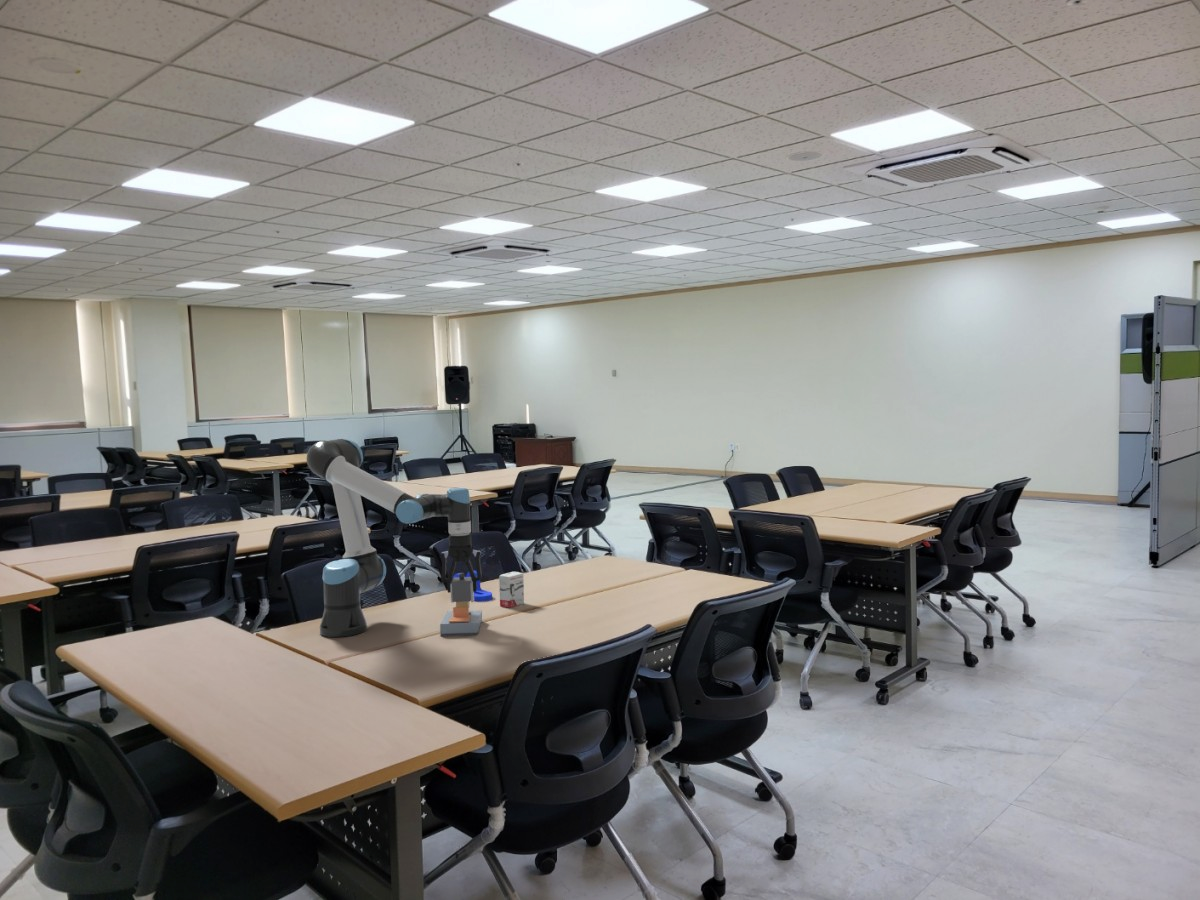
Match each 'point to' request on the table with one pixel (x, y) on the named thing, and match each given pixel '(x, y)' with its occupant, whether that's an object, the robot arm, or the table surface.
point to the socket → (461, 625)
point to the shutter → (460, 614)
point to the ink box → (511, 589)
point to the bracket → (478, 590)
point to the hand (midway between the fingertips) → (462, 601)
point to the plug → (461, 590)
